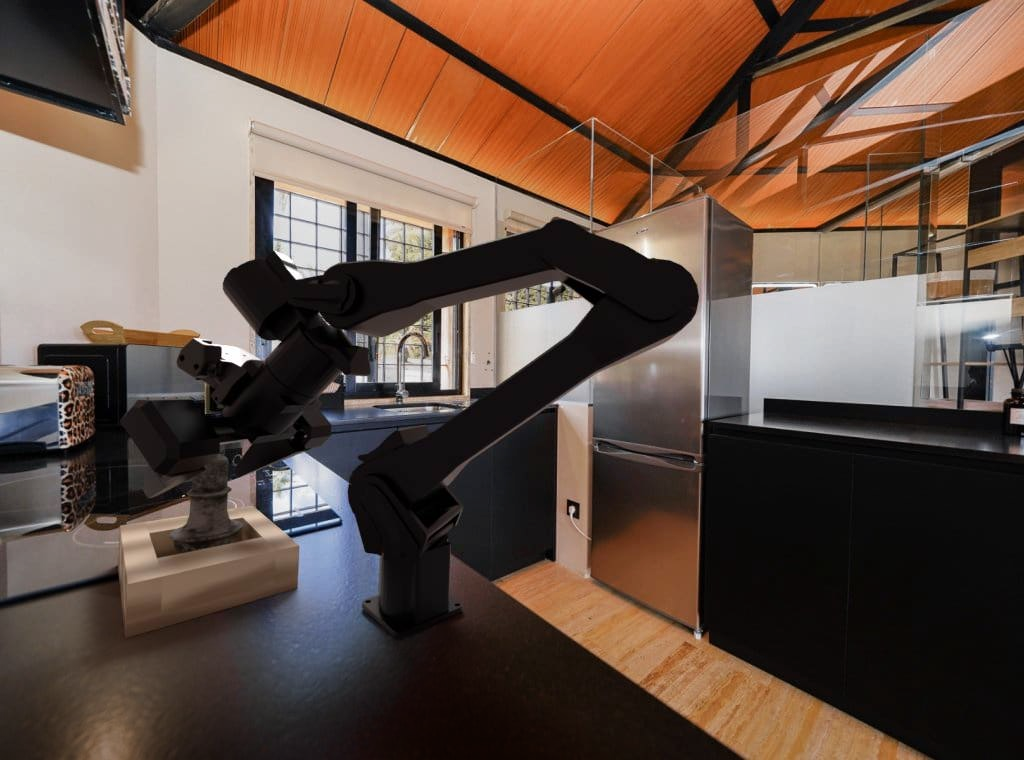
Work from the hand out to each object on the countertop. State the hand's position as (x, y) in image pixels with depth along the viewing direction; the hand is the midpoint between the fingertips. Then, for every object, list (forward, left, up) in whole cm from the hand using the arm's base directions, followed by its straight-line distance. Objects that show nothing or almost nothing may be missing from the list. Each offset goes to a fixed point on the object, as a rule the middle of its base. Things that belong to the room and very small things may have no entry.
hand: (196, 482), depth 42 cm
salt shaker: (-1, -1, -8) cm, 8 cm away
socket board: (-1, -1, -9) cm, 9 cm away
